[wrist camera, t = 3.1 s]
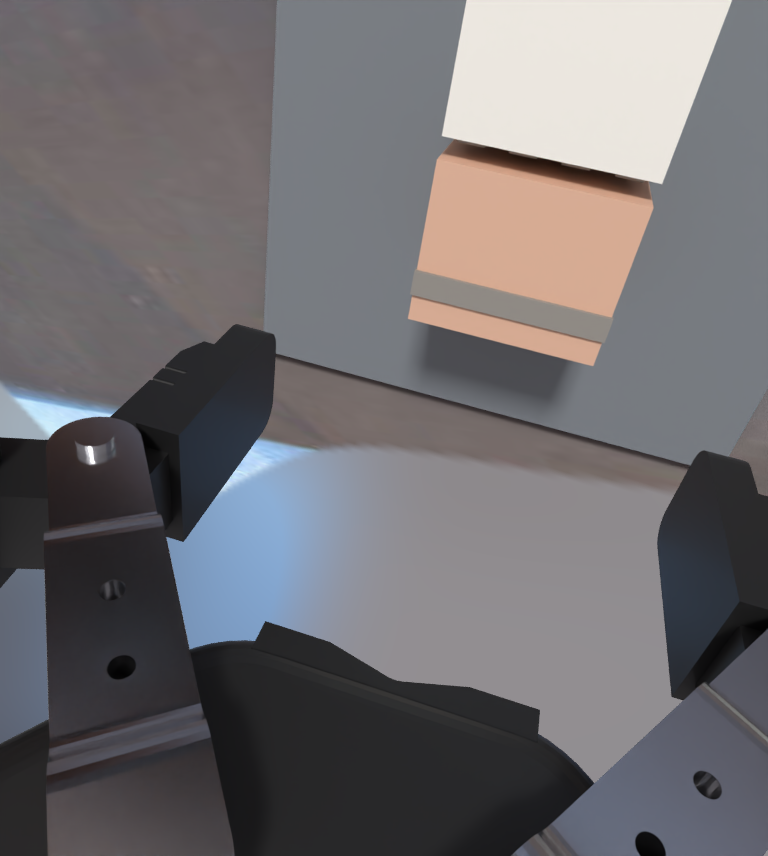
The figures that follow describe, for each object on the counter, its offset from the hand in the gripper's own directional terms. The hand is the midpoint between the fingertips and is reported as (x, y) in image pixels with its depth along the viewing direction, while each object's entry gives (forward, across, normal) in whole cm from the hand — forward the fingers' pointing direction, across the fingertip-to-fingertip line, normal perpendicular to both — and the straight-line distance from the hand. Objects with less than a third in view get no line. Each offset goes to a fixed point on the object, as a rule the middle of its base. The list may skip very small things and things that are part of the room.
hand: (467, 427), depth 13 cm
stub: (+15, 0, 0) cm, 15 cm away
